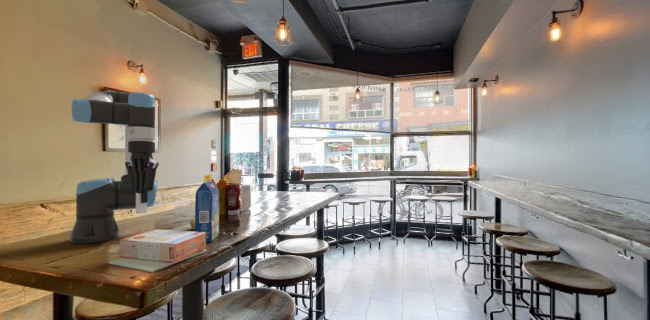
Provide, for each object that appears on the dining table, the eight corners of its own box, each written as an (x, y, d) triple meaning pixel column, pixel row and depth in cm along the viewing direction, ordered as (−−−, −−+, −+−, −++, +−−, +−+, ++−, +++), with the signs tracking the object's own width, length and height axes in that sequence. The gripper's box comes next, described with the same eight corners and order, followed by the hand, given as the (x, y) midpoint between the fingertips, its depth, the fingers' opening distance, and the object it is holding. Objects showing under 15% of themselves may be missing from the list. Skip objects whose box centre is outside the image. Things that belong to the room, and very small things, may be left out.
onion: (198, 232, 125) (198, 215, 125) (186, 230, 129) (186, 214, 129) (213, 228, 132) (213, 212, 132) (200, 226, 136) (201, 211, 136)
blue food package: (219, 234, 121) (219, 174, 121) (212, 242, 109) (212, 175, 109) (203, 234, 120) (203, 174, 120) (194, 242, 108) (194, 175, 108)
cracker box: (119, 258, 90) (175, 263, 84) (118, 238, 90) (175, 242, 84) (156, 245, 103) (207, 249, 98) (156, 228, 103) (206, 231, 98)
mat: (108, 263, 86) (108, 261, 86) (167, 245, 105) (167, 243, 105) (151, 272, 80) (151, 270, 80) (206, 251, 98) (206, 249, 98)
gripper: (116, 140, 95) (116, 213, 95) (144, 139, 90) (144, 216, 90) (139, 142, 102) (138, 209, 101) (166, 141, 97) (165, 212, 97)
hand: (141, 212), depth 96 cm, fingers closed
